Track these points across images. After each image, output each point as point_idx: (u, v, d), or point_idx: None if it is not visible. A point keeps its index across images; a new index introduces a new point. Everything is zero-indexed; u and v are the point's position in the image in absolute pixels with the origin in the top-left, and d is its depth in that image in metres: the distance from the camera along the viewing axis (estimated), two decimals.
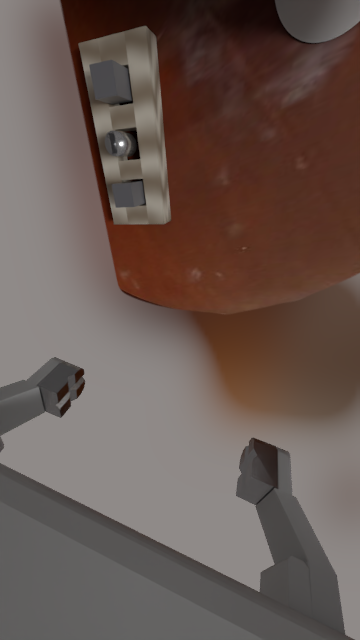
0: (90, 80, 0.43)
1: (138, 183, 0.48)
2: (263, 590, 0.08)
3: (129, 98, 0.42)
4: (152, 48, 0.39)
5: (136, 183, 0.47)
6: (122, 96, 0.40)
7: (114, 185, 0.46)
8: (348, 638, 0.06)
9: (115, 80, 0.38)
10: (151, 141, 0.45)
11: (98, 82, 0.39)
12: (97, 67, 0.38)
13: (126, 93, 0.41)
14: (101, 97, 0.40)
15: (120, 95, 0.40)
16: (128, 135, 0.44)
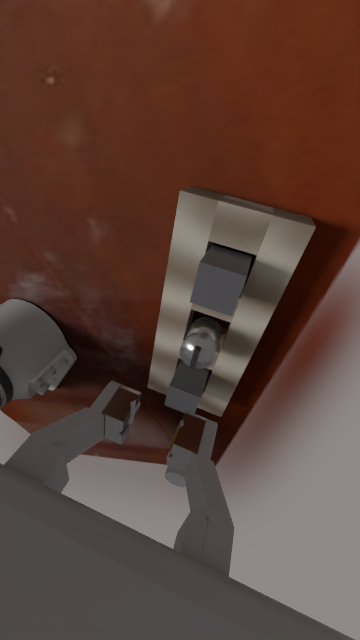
0: (224, 396, 0.34)
1: None
2: (174, 546, 0.08)
3: (179, 364, 0.33)
4: None
5: None
6: (173, 376, 0.31)
7: (226, 312, 0.22)
8: (348, 638, 0.06)
9: (167, 393, 0.31)
10: (166, 318, 0.30)
11: (188, 403, 0.31)
12: (184, 410, 0.32)
13: None
14: (191, 394, 0.30)
15: None
16: None
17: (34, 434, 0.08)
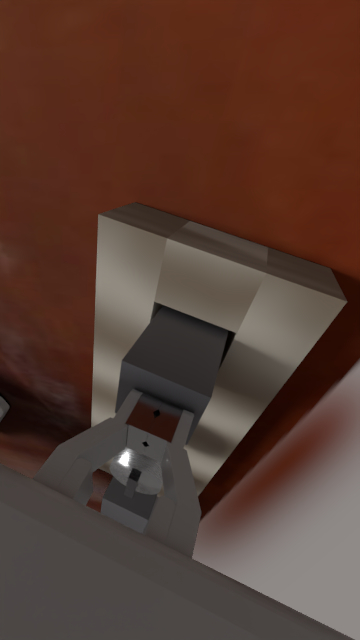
0: None
1: None
2: None
3: None
4: None
5: None
6: (113, 476, 0.21)
7: None
8: (348, 638, 0.06)
9: (102, 504, 0.21)
10: (103, 395, 0.20)
11: (133, 521, 0.21)
12: (127, 525, 0.22)
13: None
14: (135, 513, 0.20)
15: (109, 484, 0.21)
16: None
17: (60, 446, 0.08)
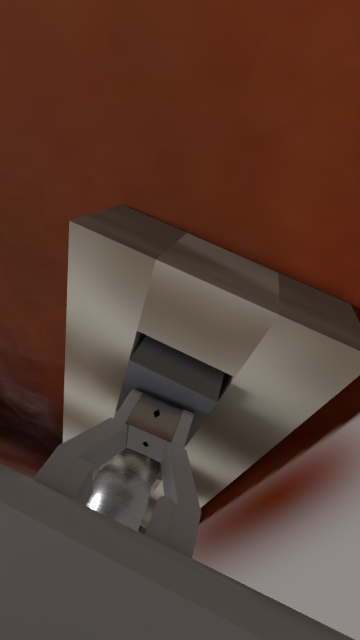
0: None
1: None
2: None
3: None
4: None
5: None
6: None
7: None
8: (348, 638, 0.06)
9: None
10: (75, 420, 0.18)
11: None
12: None
13: None
14: None
15: None
16: None
17: (60, 446, 0.08)
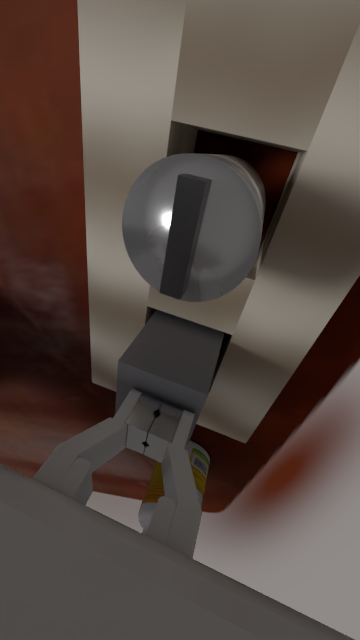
0: (256, 398, 0.15)
1: None
2: None
3: (153, 316, 0.14)
4: None
5: None
6: None
7: None
8: (348, 638, 0.06)
9: None
10: (104, 180, 0.11)
11: None
12: None
13: None
14: (181, 386, 0.10)
15: None
16: None
17: (59, 446, 0.08)
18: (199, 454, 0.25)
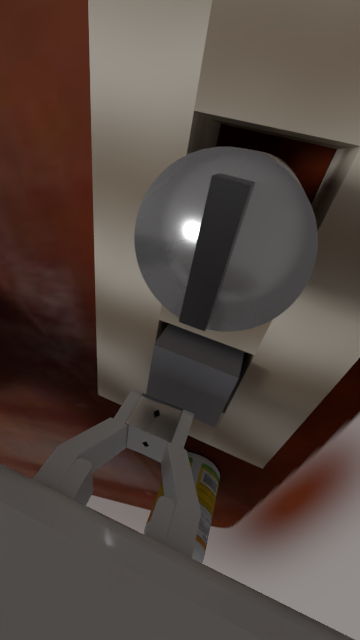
0: (277, 424, 0.13)
1: None
2: None
3: None
4: None
5: None
6: None
7: None
8: (348, 638, 0.06)
9: (150, 369, 0.12)
10: (115, 181, 0.09)
11: (204, 394, 0.12)
12: (191, 411, 0.13)
13: None
14: (213, 369, 0.11)
15: None
16: None
17: (60, 446, 0.08)
18: (209, 470, 0.24)
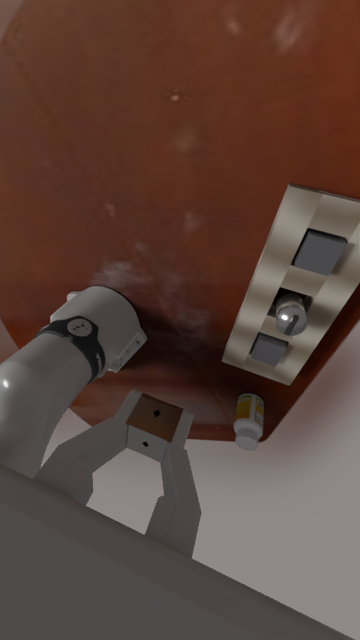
0: (296, 365, 0.40)
1: (294, 256, 0.33)
2: None
3: None
4: (226, 346, 0.45)
5: (294, 259, 0.32)
6: (260, 333, 0.39)
7: (324, 273, 0.30)
8: (348, 638, 0.06)
9: (255, 347, 0.39)
10: (254, 296, 0.36)
11: (274, 354, 0.38)
12: (268, 361, 0.39)
13: None
14: (278, 346, 0.37)
15: (259, 336, 0.39)
16: None
17: (60, 446, 0.08)
18: (259, 400, 0.50)
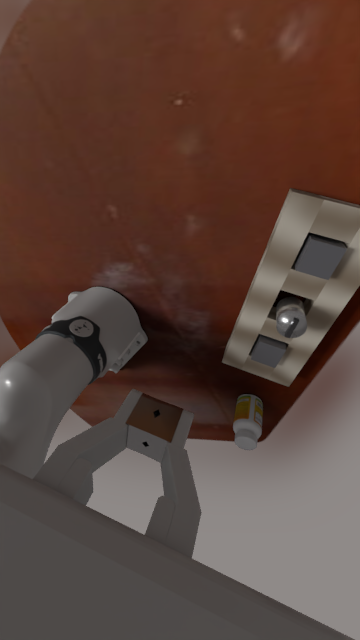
0: (295, 367, 0.40)
1: (295, 260, 0.33)
2: None
3: None
4: (226, 347, 0.45)
5: (295, 262, 0.33)
6: (260, 335, 0.40)
7: (324, 277, 0.30)
8: (348, 638, 0.06)
9: (255, 349, 0.39)
10: (255, 298, 0.36)
11: (273, 356, 0.39)
12: (267, 363, 0.40)
13: None
14: (278, 348, 0.38)
15: (260, 338, 0.39)
16: None
17: (60, 446, 0.08)
18: (259, 401, 0.51)
